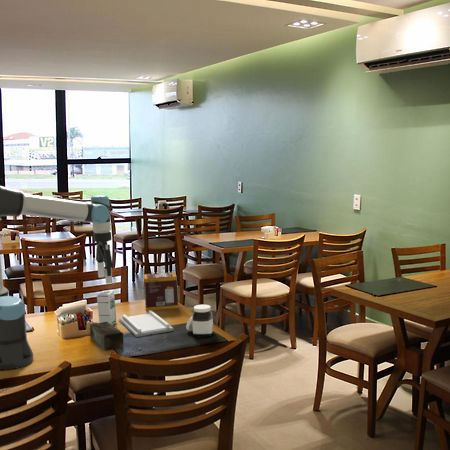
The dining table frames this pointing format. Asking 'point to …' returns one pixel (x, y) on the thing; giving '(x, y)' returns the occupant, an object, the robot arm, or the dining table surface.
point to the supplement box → (160, 291)
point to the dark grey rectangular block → (106, 335)
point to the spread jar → (201, 321)
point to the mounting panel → (145, 324)
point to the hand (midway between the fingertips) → (105, 280)
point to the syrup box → (106, 307)
